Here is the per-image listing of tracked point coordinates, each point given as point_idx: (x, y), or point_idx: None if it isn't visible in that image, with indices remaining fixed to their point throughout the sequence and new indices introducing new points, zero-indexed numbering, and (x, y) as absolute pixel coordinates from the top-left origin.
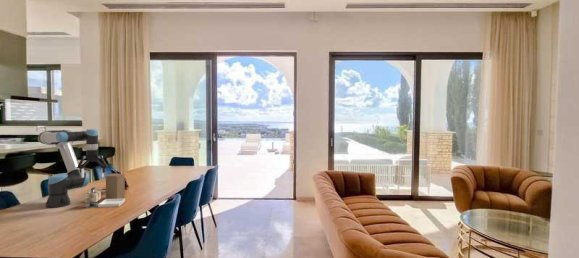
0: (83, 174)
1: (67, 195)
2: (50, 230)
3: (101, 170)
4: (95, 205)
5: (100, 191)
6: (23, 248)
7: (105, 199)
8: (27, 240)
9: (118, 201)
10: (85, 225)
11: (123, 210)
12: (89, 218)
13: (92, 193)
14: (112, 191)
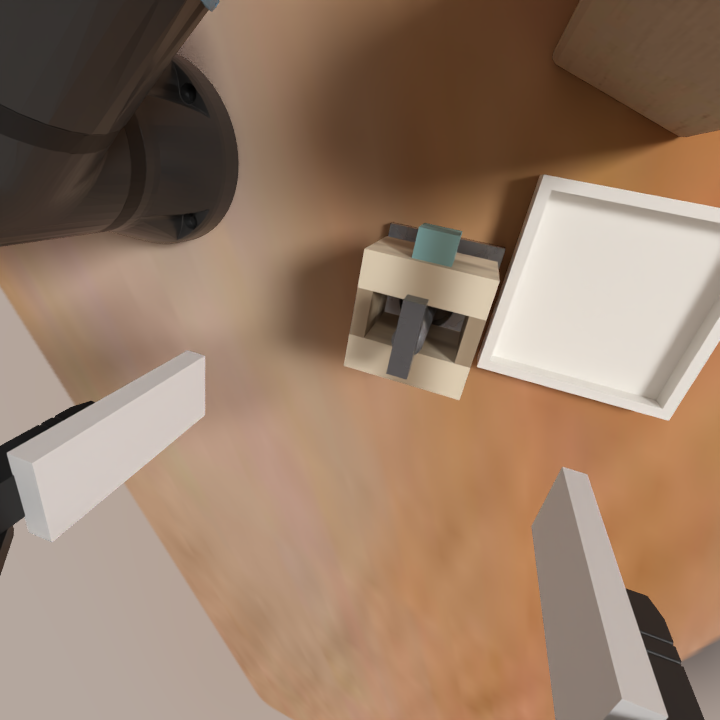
0: (165, 399)
1: (165, 153)
2: (314, 618)
3: (561, 700)
4: (456, 325)
5: (498, 284)
6: (295, 706)
7: (546, 192)
8: (277, 660)
9: (684, 257)
10: (440, 642)
11: (673, 524)
12: (446, 564)
13: (415, 355)
14: (673, 87)
